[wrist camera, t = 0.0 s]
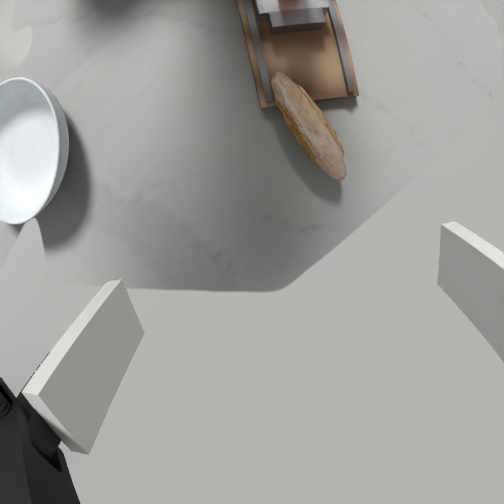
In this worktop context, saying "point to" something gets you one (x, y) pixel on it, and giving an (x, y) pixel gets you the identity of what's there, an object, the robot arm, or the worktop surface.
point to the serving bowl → (30, 148)
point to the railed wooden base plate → (300, 56)
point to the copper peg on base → (292, 14)
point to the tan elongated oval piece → (309, 126)
